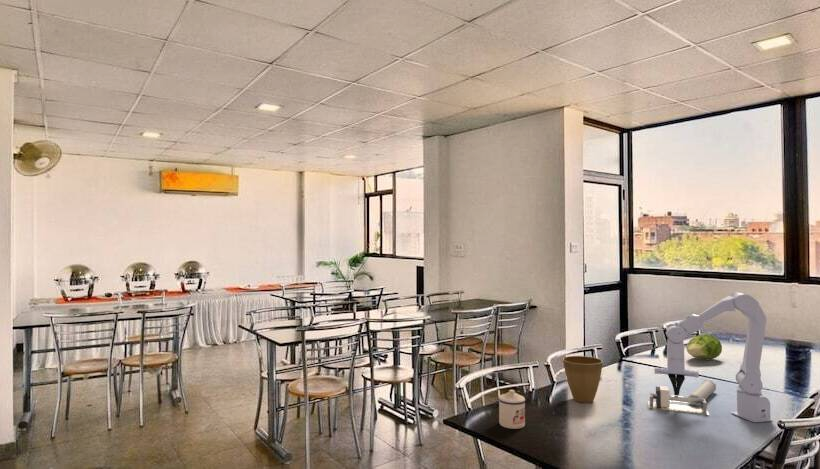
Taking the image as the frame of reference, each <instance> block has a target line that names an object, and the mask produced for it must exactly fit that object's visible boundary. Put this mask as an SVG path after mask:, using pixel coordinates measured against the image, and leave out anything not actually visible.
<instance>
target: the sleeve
mask: <svg viewBox="0 0 820 469" xmlns="http://www.w3.org/2000/svg"><path fill="white" fill-rule="evenodd" d="M658 387H659V388H660V391H661V406H662V407H670V404H671V401H670V395H671V394H670V389H669V386H665V385H659V386H658Z"/></svg>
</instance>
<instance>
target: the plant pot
mask: <svg viewBox="0 0 820 469" xmlns="http://www.w3.org/2000/svg"><path fill="white" fill-rule="evenodd" d="M562 362H563V367H564V372H565V377H566V380H567V384H568V387H569V391H570V394H571V396H572V398H573V400H574V401H575V402H578V403H585V404H590V403H592V402H594V400H595V398H596V395H597V392H598V390H599V385H600V381H601V377H602V370H603V362H604V361H603V360H602V359H600V358H596V357H594V356H593V357H592V356H586V355H570V356H569V355H568V356H565V357H562Z"/></svg>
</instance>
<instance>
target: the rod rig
mask: <svg viewBox="0 0 820 469" xmlns="http://www.w3.org/2000/svg"><path fill="white" fill-rule="evenodd" d="M648 395H649V400H648V401H647V405H648V408H649V409H654V410H663V411H670V412H678V413H687V414H695V415H703V416H704V415H705V416H710V413H709V411H708V406H707V404H708V403H707V401H706V400H705V399H703V398H701V399H699V398H690V397H688V396H680V395H672V394H670V402H677V403H678V402H679V403H684V404H675V403H670V407H662V406H661V407H657V404H656V401H654V400H656V399H657V394H656V393H653V392H649V394H648ZM686 403H687V404H690V403H693V404H701V405H700V406H693V405H685V404H686Z"/></svg>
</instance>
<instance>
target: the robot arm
mask: <svg viewBox="0 0 820 469" xmlns="http://www.w3.org/2000/svg"><path fill="white" fill-rule="evenodd" d="M736 310H737V311H738V312H740V313H741V314H743V315H744V316H745V317H746V319H747V320H748V324H747V325H748V326H747V331H746V336H745V337H746V338H745V345H744V352H743V357H742V358H743V359H742V363H741V365H740V367H739V370H738V372H736V374H735V380H736V383H737V384H738V386H737V387H736V410H737V411H731V414H732V415H735V416H737V417H739V418H742V419H743V420H747V421H749V422H751V423H764V422H773V419H772V418H771V403H770V399H769V398H767V397H766V396H764V395H763V394H762V390H763V381H762V379H761V377H762V375H761V374H762V373H761V368H760V366H761V360H762V359H761V358H762V352H763V346H764V339H765V333H766V326H767V316H766V313H765V312H764V311H763V309H762V307H761V305H760V302H759V301H758V300H757V299H755V297H753V296H752V295H750V294H746V293H745V292H741V291H736V292H734V293H732V294H731V295H728V296H726V297H723V298H722V299H720V300H719V301H717V302H716V303H714V304H713V305H712V306H710V307H708V308H706V309H705V310H704V311H702V312H700V313H699V314H694V313H692V314H691V315H690V314H687V315H685V318H684V319H682V320H681V321H679V322H674V325H671V326H668V327H667V329H666V331H665V336H666V337H667V340H666V343H667V345H666V357H667V359H666V363H667V367H654V369H653V370H654V374H655V375H667V376H668V378H669V381H670V383H671V385H672V388H673V394H674V396H680V390H681V388H682V385H683V383H684V382H685V380H686V378H685V377H689V378H691V377H692V378H700V374H699V371H698V370H690V369H685V367H686V366H685V346H684V345H685V344H684V342H685V339H686V337H690V336H691V335H693V334H694V333H696V332H698V331H699V330H701V329H703V328H704V325H705V323H706V322H707V321H710V320H712V319H713V318H716V317H717V316H719V315H721V314H723V313H724V312H736Z"/></svg>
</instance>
